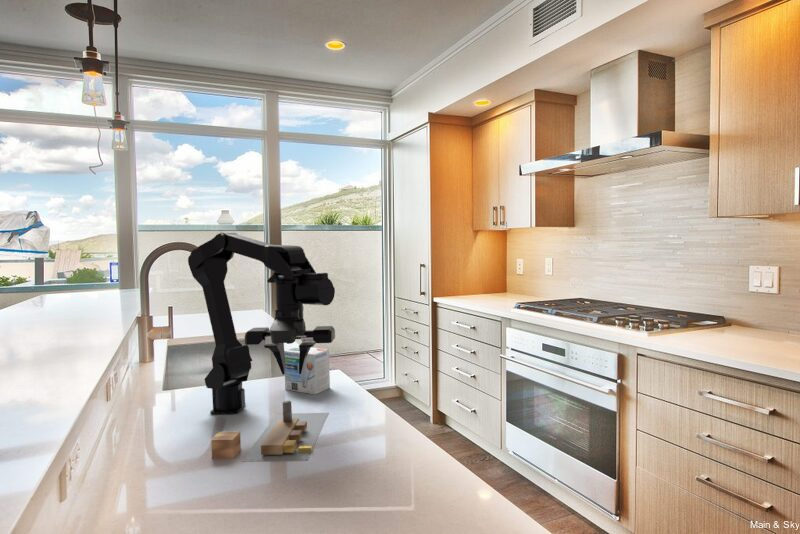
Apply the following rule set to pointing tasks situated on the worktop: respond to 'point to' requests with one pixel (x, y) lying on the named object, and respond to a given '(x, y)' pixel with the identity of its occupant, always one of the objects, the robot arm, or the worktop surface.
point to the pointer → (305, 449)
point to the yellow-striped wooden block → (226, 445)
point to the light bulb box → (307, 371)
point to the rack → (284, 434)
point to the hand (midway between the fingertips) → (292, 373)
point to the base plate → (308, 439)
